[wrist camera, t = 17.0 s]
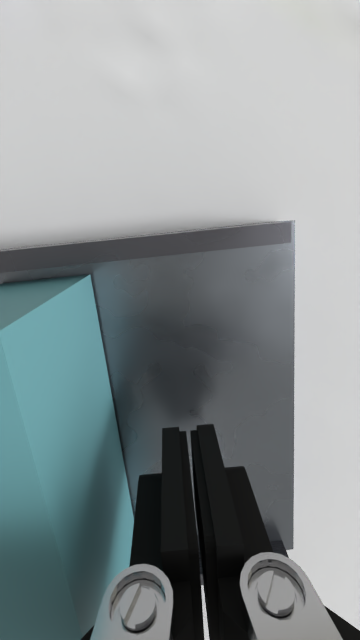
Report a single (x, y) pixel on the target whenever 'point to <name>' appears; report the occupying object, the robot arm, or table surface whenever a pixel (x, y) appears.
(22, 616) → the block
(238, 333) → the vise base
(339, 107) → the table surface
